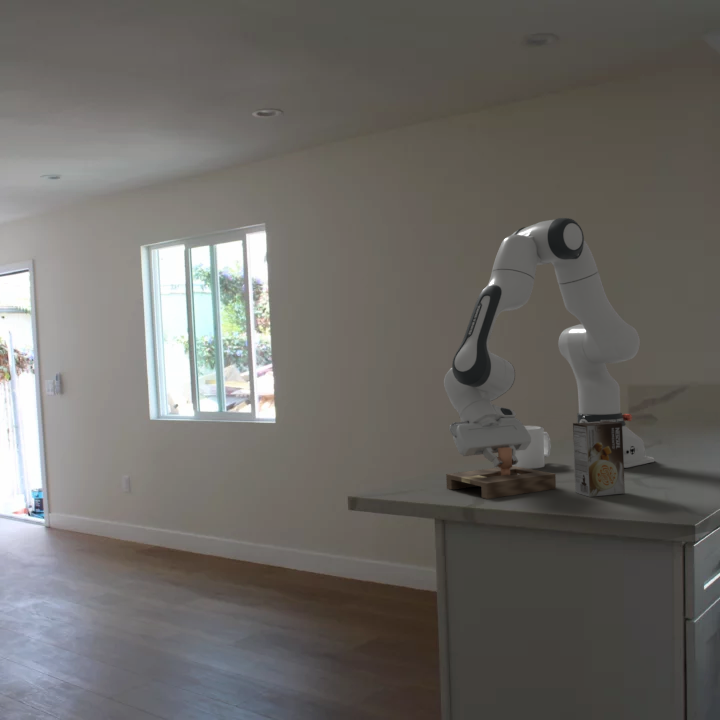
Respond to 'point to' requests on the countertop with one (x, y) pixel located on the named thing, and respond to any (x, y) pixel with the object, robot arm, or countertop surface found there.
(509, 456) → the peg
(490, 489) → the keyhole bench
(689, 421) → the countertop surface
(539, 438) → the mug
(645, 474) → the countertop surface
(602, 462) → the coffee box
